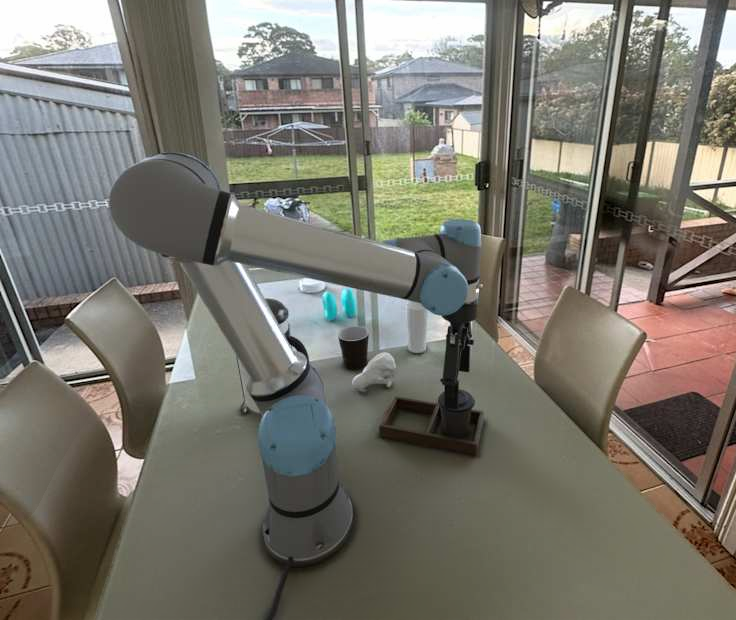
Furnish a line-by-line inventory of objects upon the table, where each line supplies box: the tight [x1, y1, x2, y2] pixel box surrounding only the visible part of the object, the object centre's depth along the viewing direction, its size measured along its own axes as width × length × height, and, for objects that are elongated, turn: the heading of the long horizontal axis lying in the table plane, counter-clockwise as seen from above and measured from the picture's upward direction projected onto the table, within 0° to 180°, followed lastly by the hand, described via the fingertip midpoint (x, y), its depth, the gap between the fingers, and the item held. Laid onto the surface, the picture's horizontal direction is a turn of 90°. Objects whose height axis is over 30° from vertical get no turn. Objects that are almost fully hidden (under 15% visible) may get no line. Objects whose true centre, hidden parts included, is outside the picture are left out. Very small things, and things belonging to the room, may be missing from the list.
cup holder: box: [379, 395, 485, 457], centre depth 100 cm, size 11×22×3 cm, turn 74°
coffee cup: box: [437, 388, 476, 440], centre depth 97 cm, size 8×8×10 cm
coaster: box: [298, 277, 326, 294], centre depth 178 cm, size 10×10×4 cm
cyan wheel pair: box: [322, 287, 357, 321], centre depth 152 cm, size 10×10×10 cm
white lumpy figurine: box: [351, 351, 397, 393], centre depth 115 cm, size 6×8×12 cm
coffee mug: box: [337, 325, 370, 371], centre depth 126 cm, size 12×9×10 cm
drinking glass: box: [404, 300, 429, 354], centre depth 131 cm, size 7×7×15 cm
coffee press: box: [235, 297, 310, 414], centre depth 103 cm, size 17×16×30 cm
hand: (457, 388), depth 95 cm, fingers open, 13 cm apart
